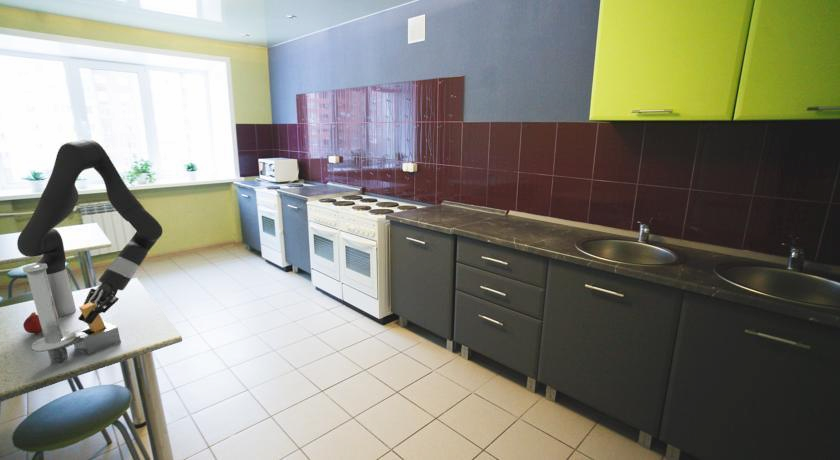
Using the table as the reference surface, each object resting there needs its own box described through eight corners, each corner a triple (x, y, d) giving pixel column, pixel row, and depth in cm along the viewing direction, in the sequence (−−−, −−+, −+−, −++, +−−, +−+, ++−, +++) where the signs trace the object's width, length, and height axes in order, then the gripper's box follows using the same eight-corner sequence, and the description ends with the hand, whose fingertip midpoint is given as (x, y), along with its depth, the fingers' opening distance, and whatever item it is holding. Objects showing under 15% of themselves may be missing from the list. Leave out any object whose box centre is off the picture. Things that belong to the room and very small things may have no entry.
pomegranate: (35, 339, 133) (29, 317, 131) (21, 337, 134) (15, 316, 132) (53, 330, 138) (48, 309, 136) (40, 329, 140) (35, 308, 138)
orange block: (90, 330, 128) (78, 307, 125) (101, 325, 130) (89, 302, 127) (95, 332, 127) (83, 309, 123) (105, 327, 129) (94, 304, 126)
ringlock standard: (31, 364, 119) (3, 268, 111) (106, 335, 135) (86, 250, 128) (46, 373, 114) (18, 274, 106) (121, 342, 131) (102, 254, 123)
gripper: (98, 265, 133) (61, 313, 125) (120, 271, 126) (83, 322, 119) (119, 274, 138) (85, 321, 131) (141, 281, 132) (107, 330, 125)
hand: (84, 321), depth 125 cm, fingers closed on orange block, 3 cm apart
